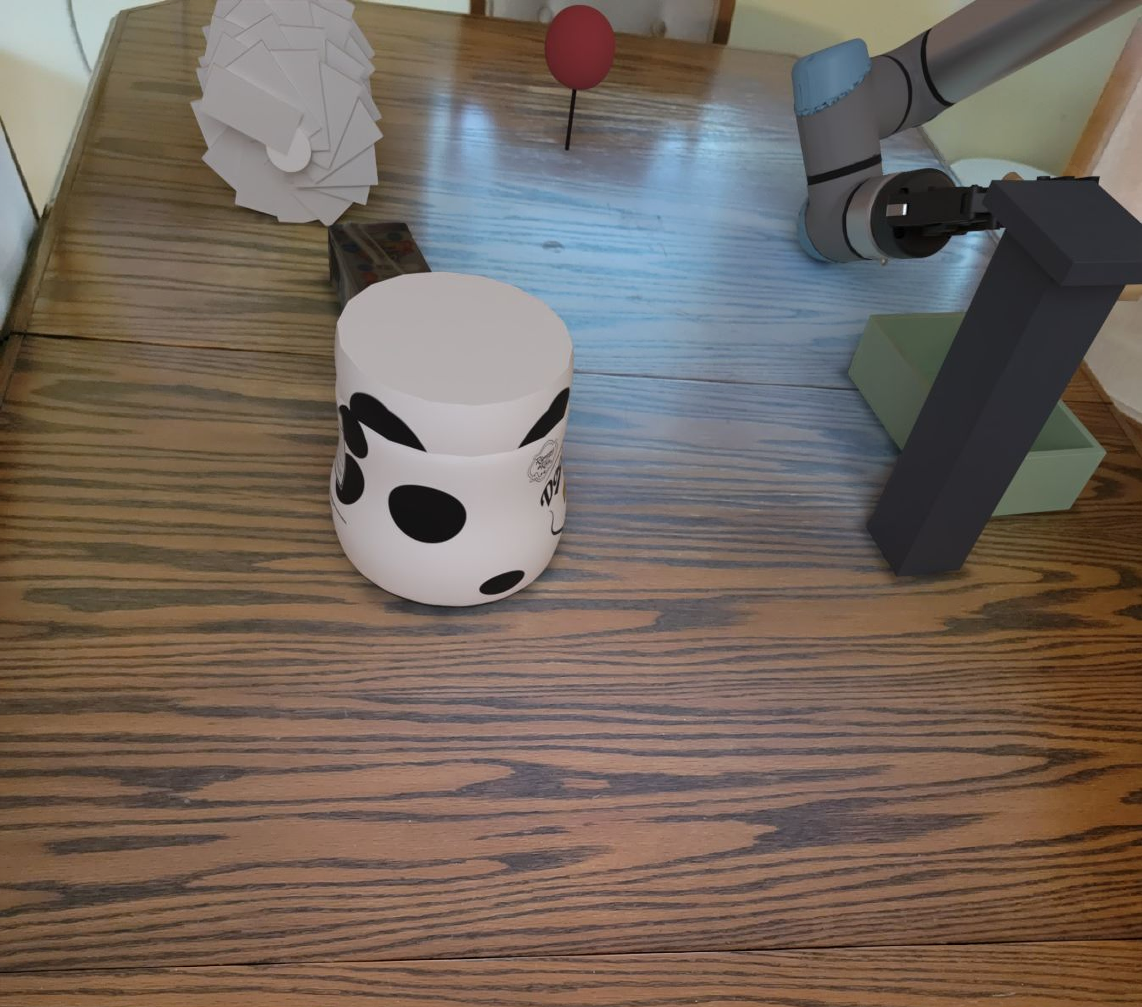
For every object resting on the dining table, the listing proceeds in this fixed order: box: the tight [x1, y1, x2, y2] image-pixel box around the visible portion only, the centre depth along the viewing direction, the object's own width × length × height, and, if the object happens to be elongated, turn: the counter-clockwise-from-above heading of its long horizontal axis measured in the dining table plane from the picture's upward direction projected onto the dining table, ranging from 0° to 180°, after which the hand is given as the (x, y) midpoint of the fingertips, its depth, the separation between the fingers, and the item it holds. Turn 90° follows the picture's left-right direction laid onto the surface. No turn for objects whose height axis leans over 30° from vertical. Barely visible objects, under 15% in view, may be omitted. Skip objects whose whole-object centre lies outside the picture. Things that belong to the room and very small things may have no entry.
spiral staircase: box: [189, 0, 384, 227], centre depth 103 cm, size 18×18×25 cm
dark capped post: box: [865, 179, 1142, 578], centre depth 75 cm, size 10×8×28 cm
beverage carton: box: [327, 220, 432, 311], centre depth 93 cm, size 8×19×7 cm, turn 20°
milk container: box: [328, 271, 575, 609], centre depth 73 cm, size 17×17×18 cm
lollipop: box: [543, 4, 616, 151], centre depth 116 cm, size 8×8×15 cm
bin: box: [847, 311, 1107, 517], centre depth 94 cm, size 22×13×7 cm, turn 15°
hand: (1079, 196), depth 78 cm, fingers closed on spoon, 2 cm apart
